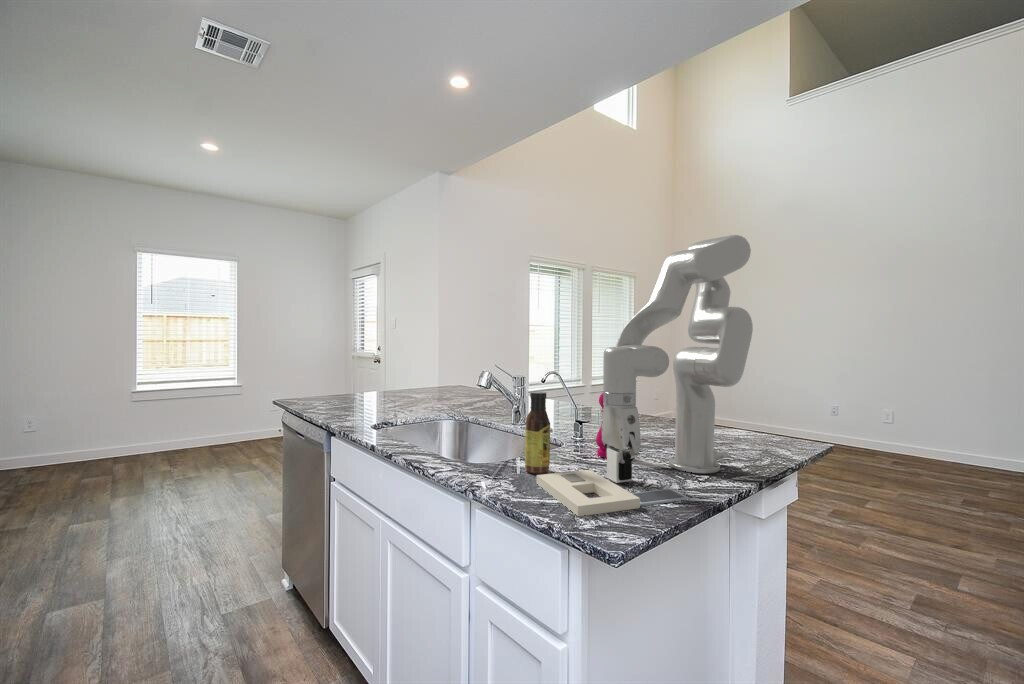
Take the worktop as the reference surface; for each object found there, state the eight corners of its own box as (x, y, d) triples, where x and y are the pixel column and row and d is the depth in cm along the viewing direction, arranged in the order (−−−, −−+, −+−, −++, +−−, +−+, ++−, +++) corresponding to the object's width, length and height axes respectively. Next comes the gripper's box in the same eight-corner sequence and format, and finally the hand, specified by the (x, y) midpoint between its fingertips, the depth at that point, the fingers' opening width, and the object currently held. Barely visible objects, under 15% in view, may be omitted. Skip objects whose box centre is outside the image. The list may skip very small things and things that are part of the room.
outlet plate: (590, 478, 113) (590, 469, 113) (639, 508, 94) (640, 497, 94) (536, 483, 108) (536, 474, 108) (577, 516, 89) (577, 505, 89)
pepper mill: (593, 457, 131) (594, 386, 130) (598, 451, 137) (599, 383, 137) (619, 460, 128) (620, 388, 128) (623, 454, 135) (624, 385, 134)
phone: (670, 492, 105) (670, 488, 105) (688, 502, 99) (689, 497, 99) (624, 498, 101) (624, 493, 101) (640, 508, 95) (640, 503, 95)
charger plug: (621, 475, 114) (621, 445, 113) (631, 480, 110) (632, 449, 109) (606, 477, 112) (606, 447, 112) (616, 482, 108) (616, 451, 108)
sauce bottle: (547, 475, 114) (549, 394, 113) (522, 473, 115) (523, 393, 115) (551, 468, 120) (552, 391, 120) (527, 466, 121) (528, 390, 121)
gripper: (655, 404, 104) (654, 485, 104) (613, 393, 119) (613, 464, 120) (626, 406, 101) (625, 489, 102) (587, 395, 117) (587, 467, 117)
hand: (619, 475), depth 111 cm, fingers closed on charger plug, 4 cm apart
